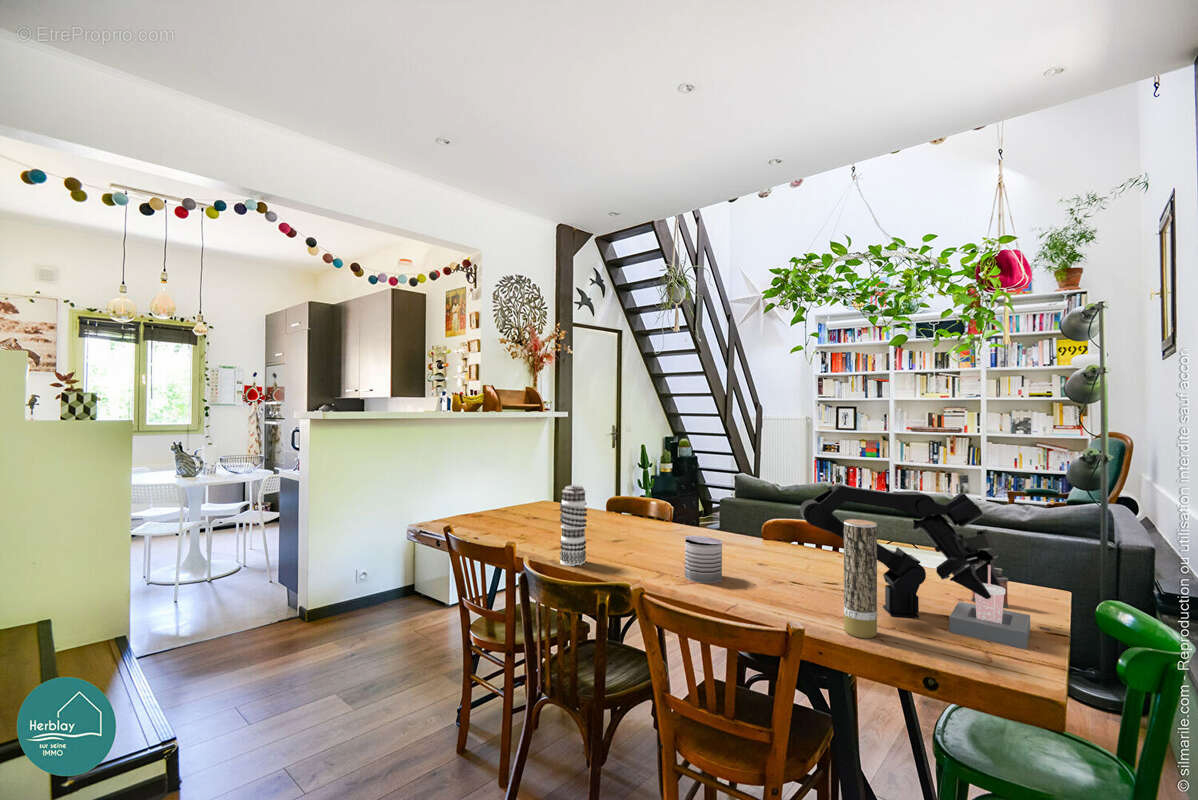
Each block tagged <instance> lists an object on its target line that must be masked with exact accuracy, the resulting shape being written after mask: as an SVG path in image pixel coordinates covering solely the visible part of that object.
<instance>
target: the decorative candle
mask: <svg viewBox="0 0 1198 800" xmlns="http://www.w3.org/2000/svg"><path fill="white" fill-rule="evenodd" d="M561 492H562V494H561V495H562V497H561V498H562V499H561V502H560V503H559V506H560V507H559V511H560V512H561V513H560V515H559V517H560V518H559V519H560V520H559V522H561V524H560V528H561V538H560V539H561V540H560V547H559V548H560V549H561V550H560V552H559V555H560V556H559V560H560V561H559V562H560V563H559V564H561V565H563V566H565V567H566V566H568V567H576V566H575V565H580V564H583V563H584V562H585V561H586V559H587V556H586V554H587V551H586V549H587V546H586V544H587V541H586V535H585V531H586V528H587V524H586V523H587V521H588V520H587V519H586V518H585V517H586V516H588V514H587V513H586V512H588V508H586V507H585V506H586V505H587V502H586V492H587V490H585V489H584V487H583V486H582V485H576V484H575V485H567V486H565V487H564V489H563V490H561ZM580 566H581V565H580Z"/></svg>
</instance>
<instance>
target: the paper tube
mask: <svg viewBox="0 0 1198 800" xmlns="http://www.w3.org/2000/svg"><path fill="white" fill-rule="evenodd" d="M843 522H844V539H843V629H844V631H845V632H846V633H847V634H848V635H850V636H853V637H856V638H859V639H861V638H862V639H873V638H875V637H876V636H877V635H878V560H877V543H878V523H877V522H876V521H875V522H874V521H871V520H867V519H866V520H865V519H855V518H851V519H844V520H843Z"/></svg>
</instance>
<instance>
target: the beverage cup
mask: <svg viewBox="0 0 1198 800" xmlns="http://www.w3.org/2000/svg"><path fill="white" fill-rule="evenodd" d="M990 580H991V565H988V584H986V583H983V585H984V586H985V588H986V589H987V590H988V592H989V594H990V595H991V598H989V599H985V598H984V597H982V596H980V595H978V594H977V593H975V602H974V603H975V605H976V617H977V619H982V620H987V621H992V622H996V623H1001V624H1002V614H1003V610H1004V608H1003V602H1004V594H1005V591H1006V590H1005V588H1003V587H1000V586H997V585H992V584H990Z"/></svg>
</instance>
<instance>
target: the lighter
mask: <svg viewBox="0 0 1198 800" xmlns="http://www.w3.org/2000/svg"><path fill="white" fill-rule="evenodd" d="M993 570H994V572H995V574H996V576H997V578H998V581H999V583H1000V585H1001V587H1003V588H1005V590H1006V591H1005V594H1004V602H1003V609H1009V603H1008V601H1009V600H1008V582H1009V578H1008V577H1006V576H1003V569H1002V568H999V567H995V566H993ZM971 592H972V595H971V601H972V603H973V602H974V603H976V602H975V592H973V591H971Z"/></svg>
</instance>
